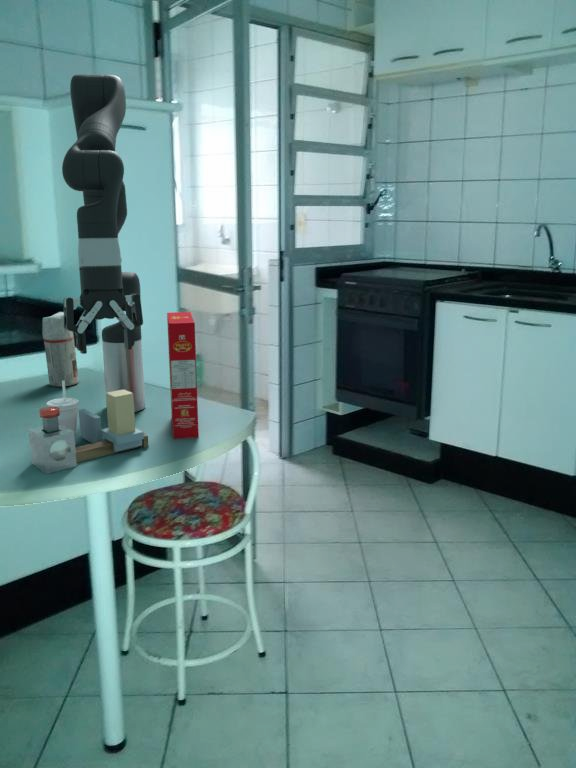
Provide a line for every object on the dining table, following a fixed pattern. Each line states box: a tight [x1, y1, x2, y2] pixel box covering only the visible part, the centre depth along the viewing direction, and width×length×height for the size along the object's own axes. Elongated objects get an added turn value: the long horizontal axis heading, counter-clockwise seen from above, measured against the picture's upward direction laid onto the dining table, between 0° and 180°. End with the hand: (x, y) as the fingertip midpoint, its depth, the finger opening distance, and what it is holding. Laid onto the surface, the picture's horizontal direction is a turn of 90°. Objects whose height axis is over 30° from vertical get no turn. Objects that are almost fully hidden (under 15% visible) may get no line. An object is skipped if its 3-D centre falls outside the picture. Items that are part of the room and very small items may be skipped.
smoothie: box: [45, 380, 80, 447], centre depth 141 cm, size 6×6×14 cm
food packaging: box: [166, 311, 200, 440], centre depth 152 cm, size 15×5×25 cm, turn 11°
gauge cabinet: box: [28, 423, 78, 475], centre depth 132 cm, size 7×6×7 cm
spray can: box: [41, 311, 79, 388], centre depth 190 cm, size 8×8×20 cm
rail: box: [75, 433, 149, 463], centre depth 139 cm, size 5×16×2 cm, turn 130°
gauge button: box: [38, 406, 60, 434], centre depth 131 cm, size 4×4×7 cm
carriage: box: [78, 389, 145, 453], centre depth 143 cm, size 15×7×11 cm, turn 40°
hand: (106, 351), depth 129 cm, fingers open, 8 cm apart
